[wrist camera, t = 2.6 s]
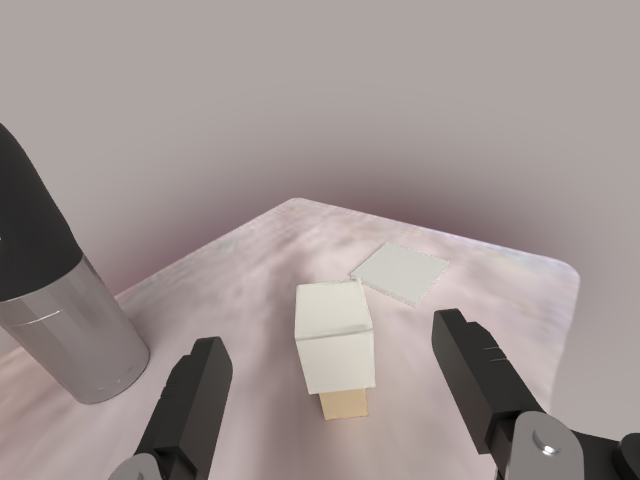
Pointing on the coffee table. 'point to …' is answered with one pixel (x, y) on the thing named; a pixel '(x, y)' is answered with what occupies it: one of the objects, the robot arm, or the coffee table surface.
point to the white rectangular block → (334, 336)
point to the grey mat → (401, 272)
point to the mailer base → (344, 404)
